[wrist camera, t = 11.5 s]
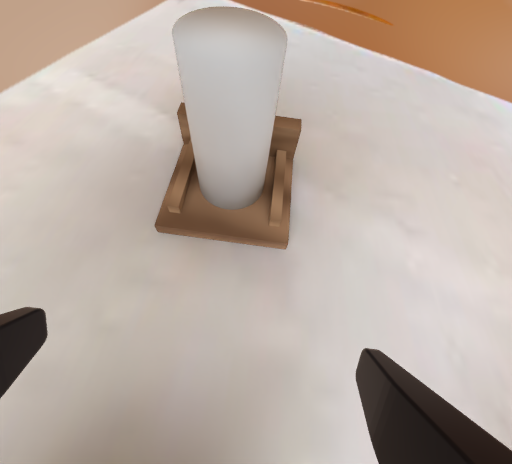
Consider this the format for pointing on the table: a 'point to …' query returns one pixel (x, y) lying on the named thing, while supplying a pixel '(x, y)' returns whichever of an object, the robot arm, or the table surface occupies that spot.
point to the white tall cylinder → (230, 97)
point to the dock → (240, 220)
